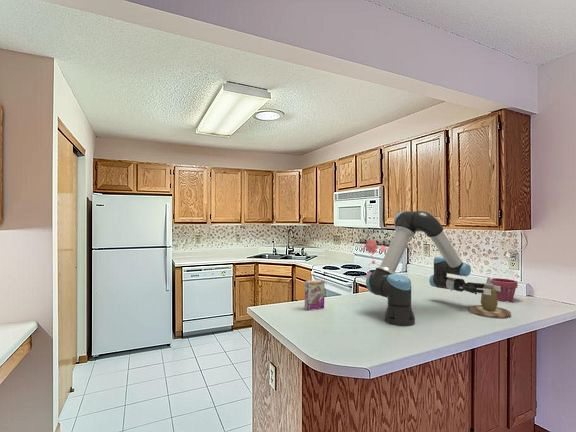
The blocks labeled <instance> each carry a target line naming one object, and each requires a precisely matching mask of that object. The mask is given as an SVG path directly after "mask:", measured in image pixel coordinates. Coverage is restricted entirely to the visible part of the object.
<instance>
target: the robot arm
mask: <svg viewBox="0 0 576 432" xmlns="http://www.w3.org/2000/svg"><path fill="white" fill-rule="evenodd" d="M393 221H394V224H393V225H394V230H395V233H394V235H393V237H392V240H391V242H390V244H389V246H388V248H387V249H386V250H387V251H385V254H384V257H383V259H382V261H381V263H380V264H379V265H380V266H378V267H376V268H375V269H374V271H373V272H371V273H370V274H369V275H368V276H367V278H366V277H365V278H366V279H365V286H366V288H367V290H368V291H369V292H370V293H371V294H373V295H376V296H380V297H383V298H387V306H386V309H385V313H384V316H383V318H384V321H385V323H387V324H389V325H395V326H403V327H405V326H406V327H407V326H408V327H409V326H413V325H415V323H416V317H415V315H414V311H413V308H412V282H411V281H412V280H411V279H410V278H409V277H408V276H405V275H402V274H396V270H397V268H398V266H399V263H400V261H401V260H402V257H403V255H404V252H405V251H406V248H407V246H408V244H409V241H410V240H411V238H414V237H415V235H416V233H417V232H422V233H424V234H425V235H426V237H428V238H430V239H431V241H432V242H433V244H434V245H435V247H436V248H437V250H438V251H439V253H440V255H441V256H434V258H433V274H431V275H430V276H429V280H428V282H429V285H430V286H432V287H435V288H438V289H445V290H450V292H452V291H456V292H463V291H465V292H468V293H471V294H474V295H477V294H481V295H482V294H487V295H491V290H488V289H482V288H483V287H484V284H485V283H480V282H472V281H471V282H469V281H468V282H465V279H463V278H456V277H451V276H448V274H449V275H455V276H459V277H469V275H470V274H471V271H472V267H471V265H470V264H468V263H465V262H463V260H462V259H461V257H460V256H459V254H458V253H457V251H456V249H455V248H454V245H452V243H451V241H450V240H449V238H448V237H447V234H445V232H444V226H443V225H442V224H441V223H440V221H439V220H438V219H437V218H436V216H434V215H432V214H431V213H429V212H427V211H425V210H419V211H418V210H417V211H416V210H413V211H412V210H411V211H408V210H405V211H401V212H398V213H397V214H396V215H395V217H394V220H393ZM494 288H495V289H496V291H501V288H500V286H494Z"/></svg>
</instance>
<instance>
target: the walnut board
mask: <svg viewBox="0 0 576 432" xmlns="http://www.w3.org/2000/svg"><path fill="white" fill-rule="evenodd" d="M468 312H469V313H471V314H473V315H475V316H479V317H483V318H491V319H508V317H509V318H511V317H512V312H511V311H510V310H508V309H505V308H503V307H499V306H497V307H496V310H495V311H488V310H484V309H483V307H482V305H481V304H474V305H470V306H468ZM510 316H511V317H510Z"/></svg>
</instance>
